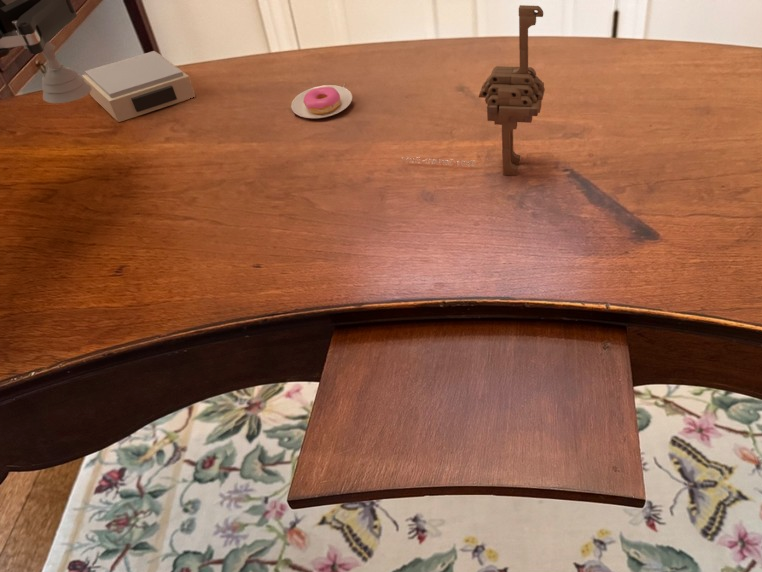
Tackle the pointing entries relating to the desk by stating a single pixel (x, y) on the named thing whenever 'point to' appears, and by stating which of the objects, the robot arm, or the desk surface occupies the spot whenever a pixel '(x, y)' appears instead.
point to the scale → (138, 85)
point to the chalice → (60, 78)
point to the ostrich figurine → (511, 95)
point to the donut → (321, 101)
